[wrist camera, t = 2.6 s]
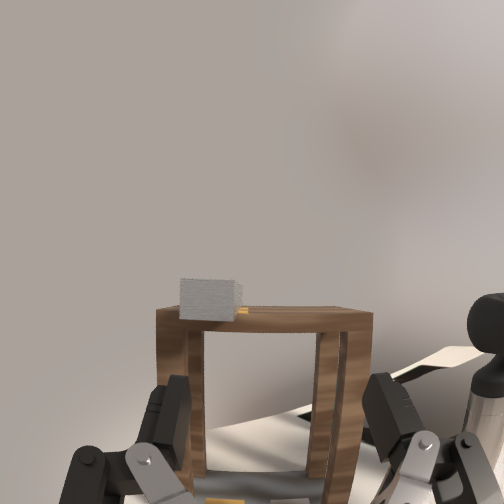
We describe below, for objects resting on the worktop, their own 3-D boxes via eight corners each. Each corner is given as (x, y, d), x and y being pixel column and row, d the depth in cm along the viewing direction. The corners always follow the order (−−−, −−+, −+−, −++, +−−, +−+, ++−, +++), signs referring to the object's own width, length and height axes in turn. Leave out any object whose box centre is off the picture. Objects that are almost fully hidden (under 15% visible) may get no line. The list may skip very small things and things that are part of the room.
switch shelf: (342, 522, 27) (373, 311, 31) (172, 523, 27) (156, 307, 31) (321, 471, 43) (335, 305, 47) (190, 470, 43) (186, 302, 47)
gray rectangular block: (233, 321, 21) (234, 280, 22) (179, 319, 21) (180, 278, 22) (242, 305, 45) (242, 285, 46) (215, 304, 45) (216, 284, 46)
